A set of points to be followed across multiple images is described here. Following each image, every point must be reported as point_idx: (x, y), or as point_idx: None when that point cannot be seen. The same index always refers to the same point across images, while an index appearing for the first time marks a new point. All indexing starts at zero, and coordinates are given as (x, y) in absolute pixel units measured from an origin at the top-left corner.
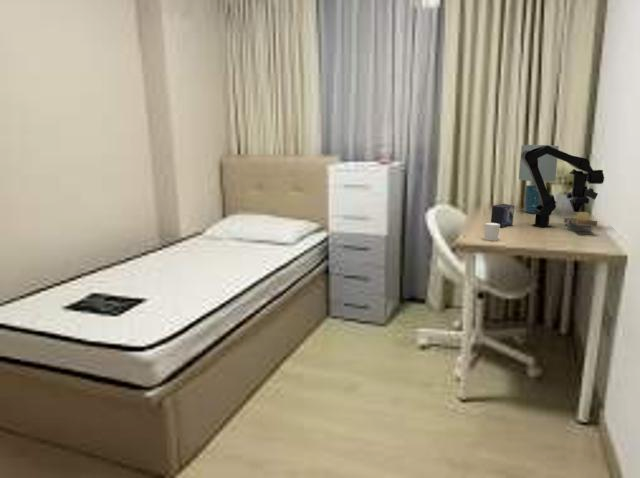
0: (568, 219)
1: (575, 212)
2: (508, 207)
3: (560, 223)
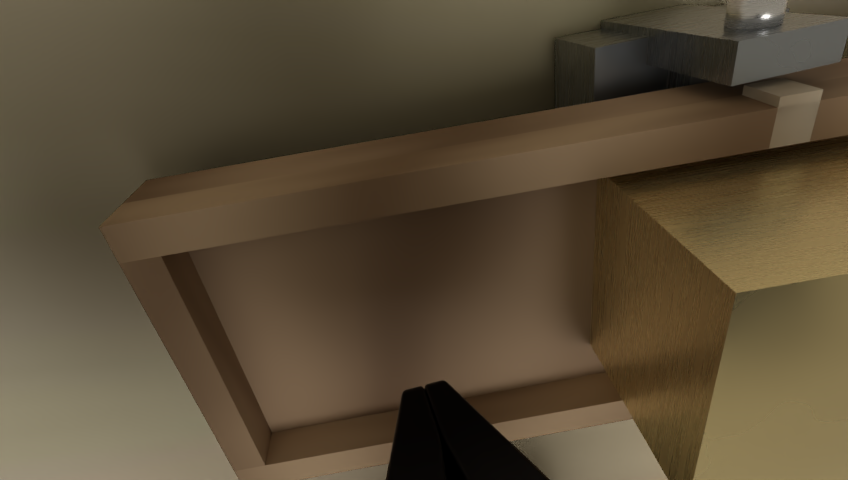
0: (560, 420)
1: (839, 471)
2: None
3: (149, 435)
